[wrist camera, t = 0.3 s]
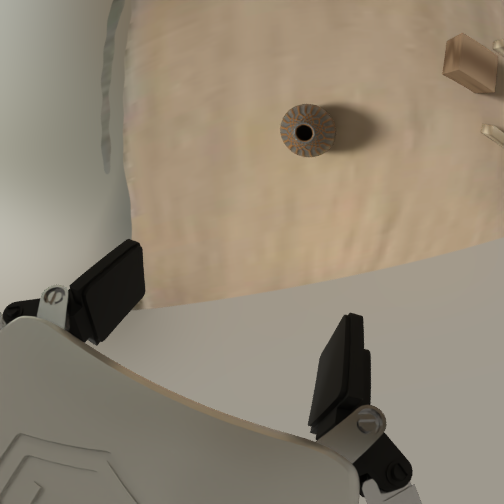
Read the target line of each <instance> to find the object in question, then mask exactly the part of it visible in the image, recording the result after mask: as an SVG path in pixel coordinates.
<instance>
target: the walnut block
mask: <svg viewBox="0 0 504 504" xmlns="http://www.w3.org/2000/svg"><path fill="white" fill-rule="evenodd" d="M497 65H498V56H497V55H496V54H494V53H493V52H492V51H490V50H489V49H487V48H486V47H484V46H483V45H481V44H480V43H478V42H477V41H475V40H474V39H472V38H470V37H469V36H467V35H465V34H464V33H461V34H459V35H458V36H456V37H454V38H452V39H450V40H448V41H447V43H446V52H445V60H444V67H443V73H442V74H443V75H444V76H446V77H448V78H450V79H452V80H454V81H456V82H457V83H459V84H461V85H462V86H464V87H466V88H468V89H469V90H471V91H472V92H474V93H492V92H495V84H496V76H497Z"/></svg>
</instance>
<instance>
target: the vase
mask: <svg viewBox="0 0 504 504" xmlns="http://www.w3.org/2000/svg"><path fill="white" fill-rule="evenodd" d="M280 131H281V137H282V140H283V142H284V143H285V145H286V146H287V147H288V149H290V150H291V151H292V152H293V153H295V154H297V155H300V156H303V157H316V156H319V155H321V154H323V153H325V152H326V151H327V150H328V149H329V148H330V147H331V146H332V144H333V142H334V140H335V135H336V128H335V124H334V121H333V119H332V118H331V116H330V115H329V114H328V113H327V112H326V111H325V110H324V109H322V108H321V107H318V106H316V105H311V104H302V105H298V106H295V107H293V108H292V109H290V110H289V111H288V112H287V113H286V114H285V116H284V118H283V120H282V122H281V128H280Z"/></svg>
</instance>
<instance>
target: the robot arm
mask: <svg viewBox="0 0 504 504" xmlns="http://www.w3.org/2000/svg"><path fill="white" fill-rule="evenodd" d="M144 294H145V281H144V268H143V252H142V247H141V246H140V243H138V242H136V241H133V240H130V239H127V240H126V241H124V242H123V243H122V244H120V245H119V246H118V247H116V248H115V249H114V250H112V251H111V252H110V253H109V254H107V255H106V256H105V257H104V258H102V259H101V260H100V261H98V262H97V263H96V264H95V265H93V266H92V267H91V268H90V269H89V270H87V271H86V272H85V273H84V274H82V275H81V276H80V277H79V278H78V279H77V280H75V281H74V282H73V283H72V284H71V285H70V289H69V290H67V288H66V287H64V286H61V285H54V286H51V287H48V288H47V289H46V290H45V291H44V292H43V293H42V295H41V298H40V299H33V300H26V301H19V302H14V303H11V304H10V305H8V306H7V307H6V308H5V310H4V312H3V314H2V313H1V312H0V504H358V503H359V494H360V495H361V496H362V497H365V499H366V502H367V504H422V503H421V500H420V498H419V495H418V492H417V490H416V487H415V485H411V483H410V480H411V477H412V466H411V464H410V462H409V461H408V460H407V459H406V457H405V456H404V455H403V454H402V453H401V452H400V450H399V449H398V448H397V447H396V446H395V445H394V443H393V442H392V441H391V440H390V439H389V437H388V436H387V435H386V434H385V433H384V431H385V429H386V418H385V416H384V414H383V413H382V411H381V410H380V409H378V408H377V407H375V406H372V405H370V400H371V398H370V397H371V356H370V351H369V350H366V349H364V329H363V328H364V327H363V316H360V315H357V314H353V313H349V315H344V316H343V317H342V319H341V321H340V323H339V325H338V326H337V328H336V330H335V332H334V334H333V335H332V337H331V339H330V340H329V342H328V344H327V345H326V347H325V349H324V350H323V352H322V354H321V356H320V359H319V365H318V372H317V378H316V384H315V390H314V395H313V401H312V406H311V412H310V416H309V421H308V426H312V427H311V431H310V433H313V434H316V440H317V441H316V442H313V441H311V440H308V439H305V438H301V437H298V436H295V435H292V434H288V433H284V432H281V431H277V430H274V429H270V428H267V427H264V426H261V425H258V424H254V423H252V422H249V421H246V420H243V419H240V418H237V417H234V416H231V415H228V414H225V413H223V412H220V411H217V410H215V409H212V408H209V407H207V406H205V405H202V404H200V403H197V402H195V401H192V400H190V399H188V398H185V397H183V396H181V395H179V394H177V393H174V392H172V391H170V390H168V389H166V388H164V387H162V386H160V385H157V384H155V383H153V382H151V381H149V380H147V379H146V378H144V377H142V376H140V375H138V374H136V373H134V372H132V371H130V370H129V369H127V368H125V367H123V366H121V365H120V364H118V363H116V362H115V361H113V360H111V359H109V358H108V357H106V356H105V355H103V354H101V353H100V352H98V351H96V350H95V349H93V348H92V347H90V346H89V345H87V344H85V342H86V341H87V340H89V341H90V342H92V343H93V344H95V345H98V344H99V342H100V341H101V342H103V341H104V340H105V339H106V338H107V337H108V336H109V334H110V333H111V332H112V331H113V330H114V329H115V328H116V326H117V325H118V324H119V323H120V322H121V321H122V320H123V318H124V317H125V316H126V315H127V314H128V313H129V312H130V311H131V310H132V308H133V307H134V306H135V305H136V304H137V303H138V302H139V301H140V300H141V299H142V298H143V296H144Z"/></svg>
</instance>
